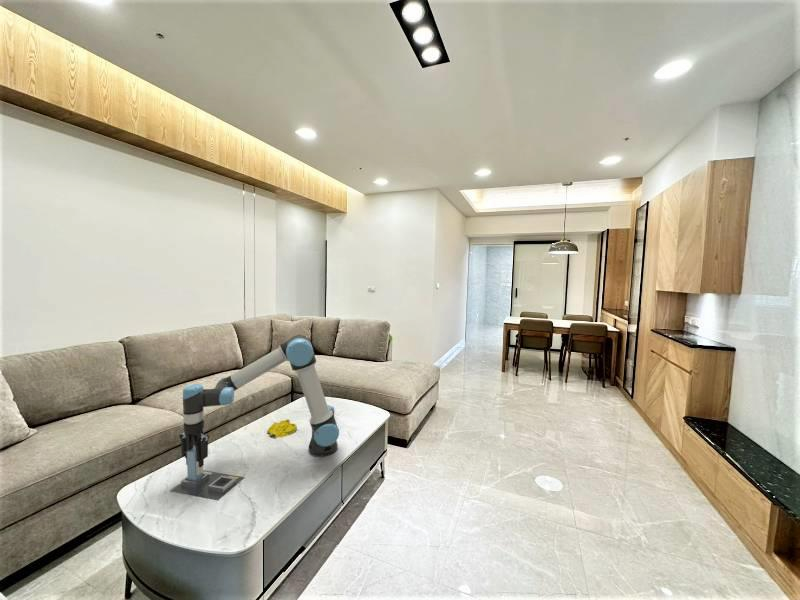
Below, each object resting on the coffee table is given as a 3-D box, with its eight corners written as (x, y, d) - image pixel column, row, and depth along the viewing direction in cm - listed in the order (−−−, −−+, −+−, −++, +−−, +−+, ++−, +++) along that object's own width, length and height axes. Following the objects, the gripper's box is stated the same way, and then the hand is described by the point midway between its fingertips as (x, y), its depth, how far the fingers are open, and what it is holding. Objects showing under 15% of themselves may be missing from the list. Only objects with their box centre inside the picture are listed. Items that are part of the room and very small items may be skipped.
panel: (245, 479, 148) (245, 473, 148) (218, 502, 132) (217, 495, 132) (200, 471, 153) (200, 465, 153) (169, 493, 138) (169, 486, 137)
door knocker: (300, 432, 194) (300, 425, 194) (272, 440, 184) (272, 433, 184) (290, 422, 207) (290, 416, 207) (263, 429, 197) (263, 422, 197)
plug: (204, 474, 147) (204, 446, 146) (195, 481, 142) (194, 452, 141) (197, 473, 148) (196, 445, 147) (187, 480, 143) (186, 451, 142)
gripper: (217, 419, 144) (218, 470, 146) (185, 415, 148) (186, 465, 150) (203, 426, 137) (204, 480, 138) (170, 422, 141) (171, 474, 142)
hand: (195, 472), depth 144 cm, fingers closed on plug, 4 cm apart
